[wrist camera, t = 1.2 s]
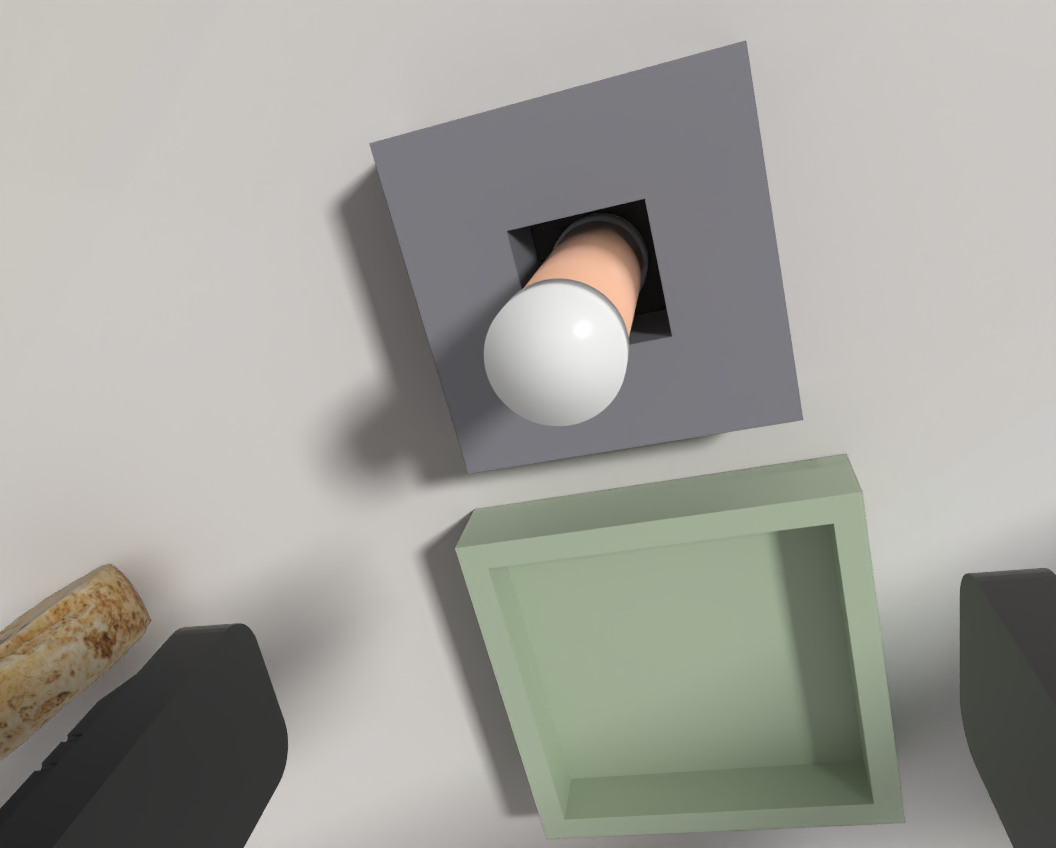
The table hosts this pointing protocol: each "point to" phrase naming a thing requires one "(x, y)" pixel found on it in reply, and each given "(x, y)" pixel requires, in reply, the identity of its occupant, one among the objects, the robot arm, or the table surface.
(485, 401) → the grey flat square piece
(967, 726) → the robot arm
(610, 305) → the peg
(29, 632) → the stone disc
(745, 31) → the table surface
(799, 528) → the parts tray
